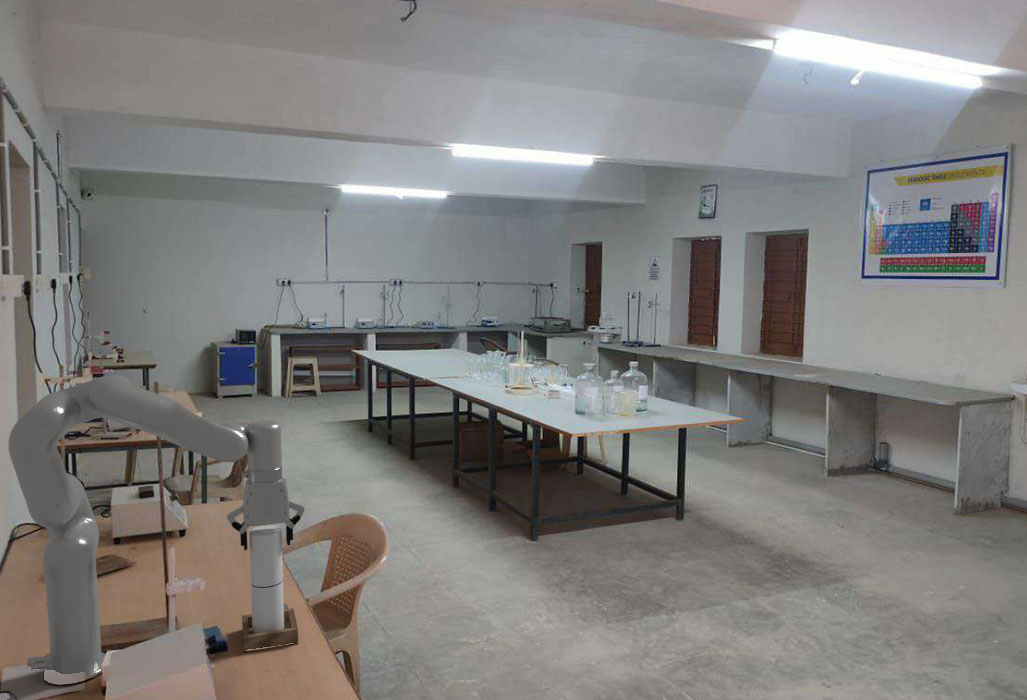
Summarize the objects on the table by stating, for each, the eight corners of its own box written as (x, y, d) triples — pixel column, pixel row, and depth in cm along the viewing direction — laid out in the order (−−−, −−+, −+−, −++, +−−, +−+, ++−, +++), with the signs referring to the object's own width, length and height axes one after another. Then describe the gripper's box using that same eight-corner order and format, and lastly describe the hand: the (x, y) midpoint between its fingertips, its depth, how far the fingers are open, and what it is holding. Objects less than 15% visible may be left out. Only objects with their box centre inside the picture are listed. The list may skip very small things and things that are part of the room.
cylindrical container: (251, 641, 177) (248, 536, 174) (253, 627, 184) (250, 526, 181) (283, 637, 179) (281, 534, 176) (284, 623, 185) (281, 524, 183)
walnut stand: (243, 652, 173) (243, 637, 173) (242, 629, 185) (242, 615, 184) (298, 643, 178) (297, 629, 177) (293, 621, 189) (293, 608, 189)
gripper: (225, 482, 171) (228, 556, 172) (305, 475, 177) (306, 546, 178) (225, 473, 178) (227, 545, 179) (302, 467, 184) (303, 536, 185)
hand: (267, 545), depth 179 cm, fingers open, 9 cm apart
